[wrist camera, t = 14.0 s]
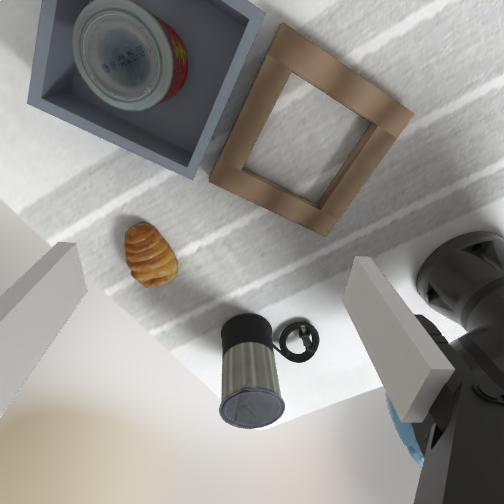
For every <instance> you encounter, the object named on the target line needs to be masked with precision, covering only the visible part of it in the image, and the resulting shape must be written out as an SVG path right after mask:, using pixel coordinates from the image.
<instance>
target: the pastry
mask: <svg viewBox="0 0 504 504" xmlns="http://www.w3.org/2000/svg"><path fill="white" fill-rule="evenodd" d="M124 247H125V249H126V257H127V264H128V266H129V268H130V269H131V270H132V271H131V275H132V276H133V278H135V279H137V280H138V281H139V282H140V283H141V284H142V285H143V286H144V287H146V288H152V287H158V286H161V285H163V284H166V283H168V282H169V281H171V280H172V279H173V278H174V277H175V276H176V275H177V273H178V268H177V265H178V262H177V259H176V256H175V254H174V252H173V251H172V249H171V247H170V246H169V244H168V243H167V242H166V241H165V239H164V238H163V237H162V235H161V234H160V233H159V231H158V230H157V229H155V228H154V227H153V226H151V225H150V224H146V223H141V224H136V225H135V226H133V227H131V228H129V229H128V231H127V233H126V234H125V245H124Z"/></svg>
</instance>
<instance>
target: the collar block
mask: <svg viewBox="0 0 504 504" xmlns="http://www.w3.org/2000/svg"><path fill="white" fill-rule="evenodd" d="M291 72H293V73H294V74H296V75H298V76H299V77H301V78H302V79H304V80H305V81H307V82H308V83H310V84H311V85H313V86H315V87H316V88H318V89H319V90H321V91H322V92H324V93H325V94H327V95H329V96H330V97H332V98H333V99H335V100H336V101H338V102H339V103H341V104H342V105H344V106H346V107H347V108H349V109H350V110H352V111H353V112H355V113H356V114H358V115H359V116H361V117H363V118H364V119H366V120H367V121H369V122H370V123H371V124H370V126H369V127H368V129H367V130H366V132H365V133H364V135H363V136H362V138H361V139H360V141H359V142H358V144H357V145H356V147H355V148H354V150H353V151H352V153H351V154H350V156H349V157H348V159H347V160H346V162H345V163H344V165H343V166H342V168H341V169H340V171H339V172H338V174H337V175H336V177H335V178H334V180H333V181H332V183H331V184H330V186H329V187H328V189H327V190H326V192H325V193H324V195H323V196H322V198H321V199H320V201H319V202H318V204H317V205H316V204H314V203H312V202H310V201H308V200H306V199H304V198H302V197H300V196H298V195H296V194H294V193H292V192H290V191H288V190H286V189H284V188H282V187H280V186H278V185H276V184H274V183H272V182H270V181H268V180H266V179H264V178H262V177H260V176H258V175H256V174H254V173H253V172H251V171H249V170H247V169H245V168H243V166H244V164H245V162H246V160H247V158H248V156H249V154H250V152H251V151H252V149H253V147H254V145H255V143H256V141H257V139H258V137H259V135H260V133H261V131H262V129H263V127H264V125H265V123H266V121H267V119H268V117H269V115H270V113H271V111H272V109H273V107H274V105H275V103H276V101H277V99H278V97H279V95H280V93H281V91H282V89H283V88H284V86H285V84H286V82H287V80H288V78H289V76H290V74H291ZM413 115H414V113H413V112H411V111H410V110H408V109H407V108H405V107H404V106H402V105H401V104H400V103H398V102H397V101H395V100H394V99H392V98H391V97H390V96H388V95H387V94H385V93H384V92H382V91H381V90H380V89H378V88H377V87H375V86H374V85H372V84H371V83H370V82H368V81H367V80H365V79H364V78H362V77H361V76H359V75H358V74H357V73H355V72H354V71H352V70H351V69H349V68H348V67H347V66H345V65H344V64H342V63H341V62H339V61H338V60H337V59H335V58H334V57H332V56H331V55H329V54H328V53H326V52H325V51H324V50H322V49H321V48H319V47H318V46H316V45H315V44H314V43H312V42H311V41H309V40H308V39H306V38H305V37H304V36H302V35H301V34H299V33H298V32H296V31H295V30H294V29H292V28H291V27H289V26H288V25H286V24H285V23H283V22H282V23H281V24H280V25H279V27H278V29H277V31H276V33H275V36H274V38H273V40H272V42H271V44H270V46H269V49H268V51H267V53H266V55H265V57H264V59H263V62H262V64H261V66H260V68H259V70H258V72H257V75H256V77H255V79H254V81H253V83H252V85H251V88H250V90H249V92H248V94H247V96H246V98H245V101H244V103H243V105H242V107H241V109H240V111H239V114H238V116H237V118H236V120H235V122H234V124H233V127H232V129H231V131H230V133H229V135H228V137H227V140H226V142H225V144H224V146H223V148H222V151H221V153H220V155H219V157H218V159H217V161H216V164H215V166H214V168H213V170H212V172H211V174H210V177H209V182H210V183H213V184H215V185H217V186H219V187H221V188H223V189H225V190H227V191H230V192H232V193H234V194H236V195H238V196H240V197H242V198H244V199H247V200H249V201H251V202H253V203H255V204H257V205H259V206H261V207H264V208H266V209H268V210H270V211H272V212H274V213H276V214H278V215H281V216H283V217H285V218H287V219H289V220H291V221H293V222H295V223H298V224H300V225H302V226H304V227H306V228H308V229H310V230H312V231H315V232H317V233H319V234H321V235H323V236H325V237H326V236H327V235H328V233H329V232H330V230H331V229H332V228H333V226H334V225H335V223H336V222H337V221H338V219H339V218H340V217H341V215H342V214H343V212H344V211H345V210H346V208H347V207H348V205H349V204H350V203H351V201H352V200H353V199H354V197H355V196H356V194H357V193H358V192H359V190H360V189H361V187H362V186H363V185H364V183H365V182H366V180H367V179H368V178H369V176H370V175H371V174H372V172H373V171H374V169H375V168H376V167H377V165H378V164H379V162H380V161H381V160H382V158H383V157H384V156H385V154H386V153H387V151H388V150H389V149H390V147H391V146H392V144H393V143H394V142H395V140H396V139H397V138H398V136H399V135H400V133H401V132H402V131H403V129H404V128H405V126H406V125H407V124H408V122H409V121H410V119H411V118H412V117H413Z"/></svg>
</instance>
